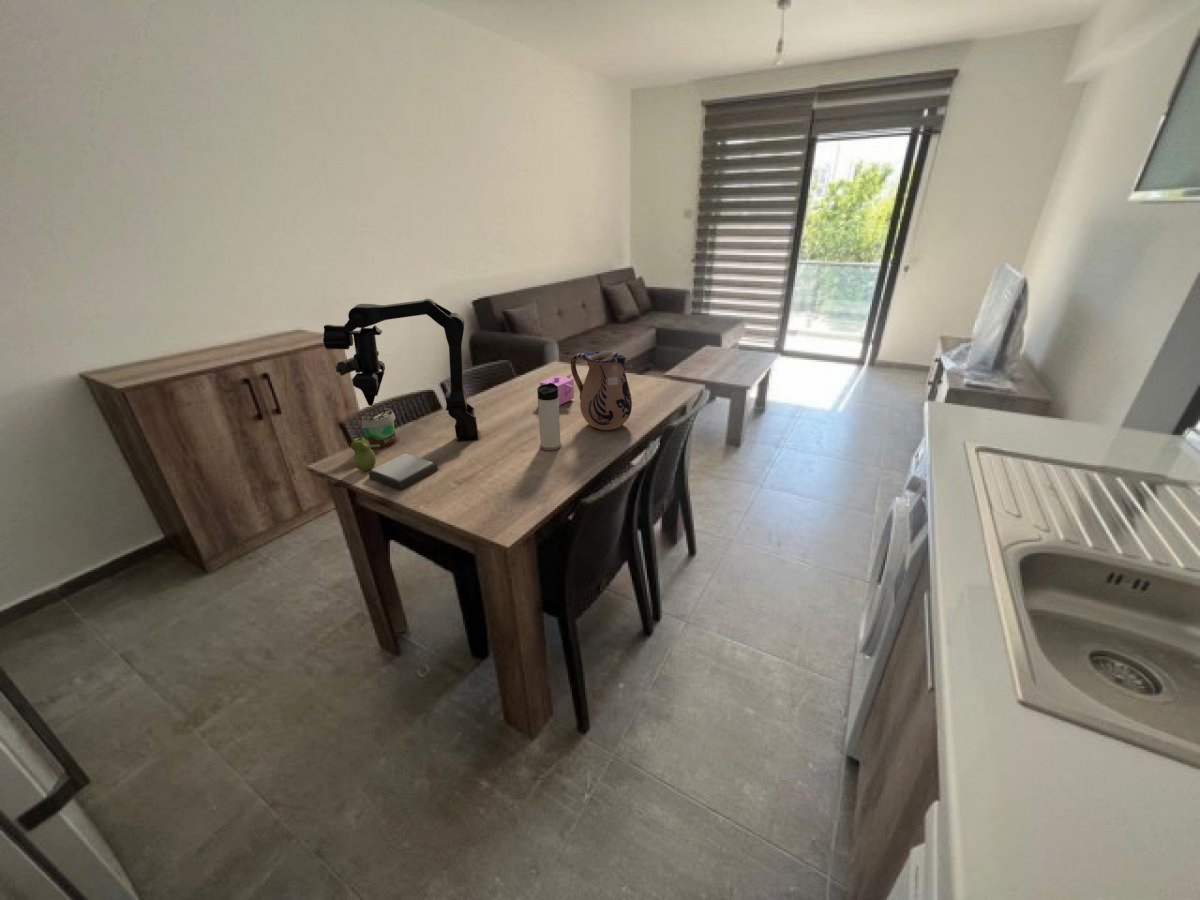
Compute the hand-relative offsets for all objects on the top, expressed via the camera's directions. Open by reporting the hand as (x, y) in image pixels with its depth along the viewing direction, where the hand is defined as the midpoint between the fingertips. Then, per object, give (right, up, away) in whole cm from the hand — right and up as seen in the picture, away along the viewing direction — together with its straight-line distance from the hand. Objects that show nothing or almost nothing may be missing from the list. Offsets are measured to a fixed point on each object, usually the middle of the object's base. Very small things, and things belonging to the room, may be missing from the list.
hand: (373, 400), depth 146 cm
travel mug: (+54, -14, +6) cm, 56 cm away
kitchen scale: (+14, -22, -10) cm, 27 cm away
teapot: (+54, +4, +42) cm, 68 cm away
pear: (+2, -21, -7) cm, 22 cm away
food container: (+1, -13, +8) cm, 16 cm away
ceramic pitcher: (+70, -7, +21) cm, 73 cm away
